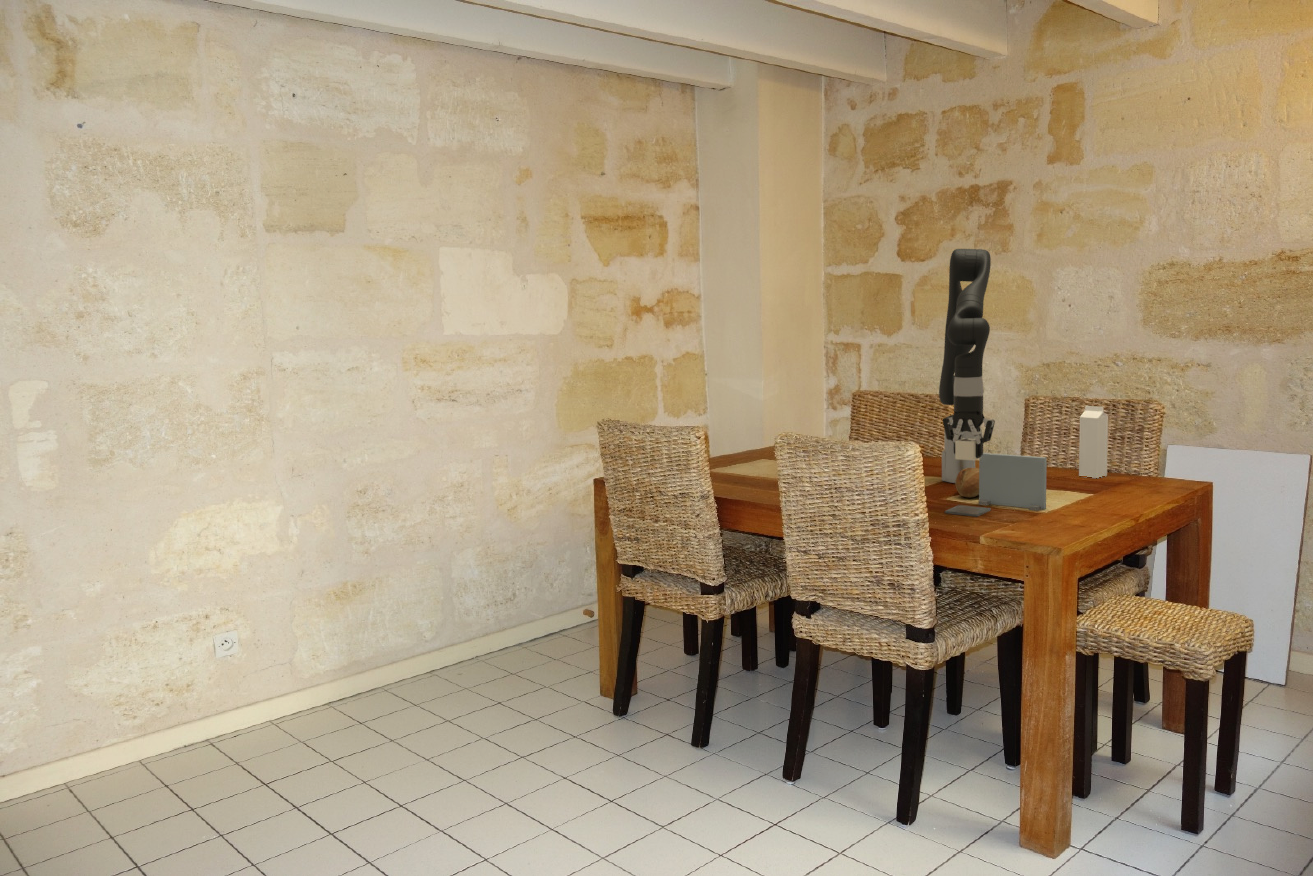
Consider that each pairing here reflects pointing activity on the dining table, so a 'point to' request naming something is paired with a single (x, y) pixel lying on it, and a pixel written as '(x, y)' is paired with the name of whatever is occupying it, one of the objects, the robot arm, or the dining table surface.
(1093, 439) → the milk
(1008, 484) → the screen
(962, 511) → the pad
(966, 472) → the bread roll
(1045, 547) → the dining table surface
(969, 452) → the letter cube
